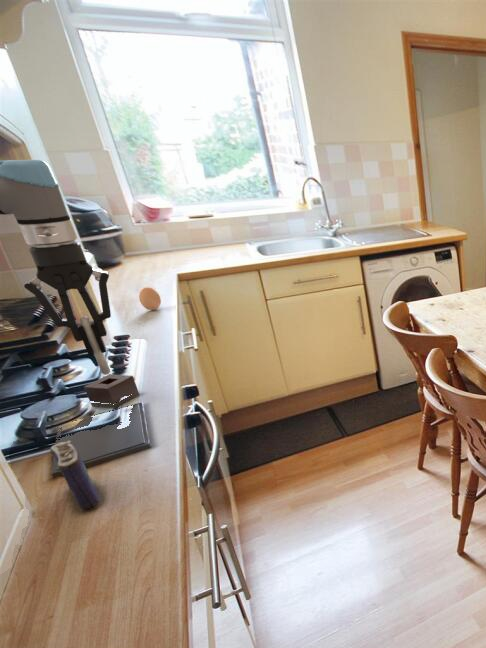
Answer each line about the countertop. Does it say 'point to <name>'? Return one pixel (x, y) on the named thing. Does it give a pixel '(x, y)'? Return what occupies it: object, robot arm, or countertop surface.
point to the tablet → (108, 440)
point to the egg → (149, 298)
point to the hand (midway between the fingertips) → (97, 351)
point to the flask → (76, 475)
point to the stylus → (95, 345)
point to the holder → (111, 390)
